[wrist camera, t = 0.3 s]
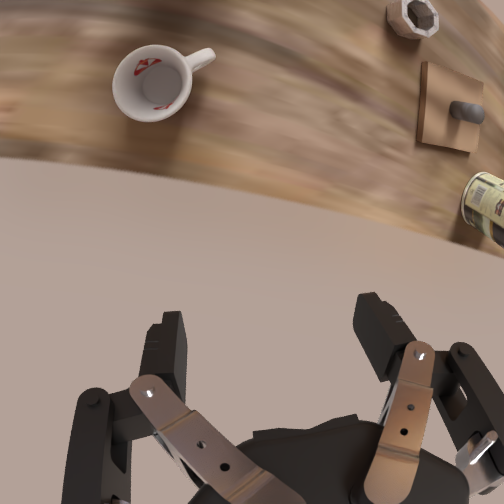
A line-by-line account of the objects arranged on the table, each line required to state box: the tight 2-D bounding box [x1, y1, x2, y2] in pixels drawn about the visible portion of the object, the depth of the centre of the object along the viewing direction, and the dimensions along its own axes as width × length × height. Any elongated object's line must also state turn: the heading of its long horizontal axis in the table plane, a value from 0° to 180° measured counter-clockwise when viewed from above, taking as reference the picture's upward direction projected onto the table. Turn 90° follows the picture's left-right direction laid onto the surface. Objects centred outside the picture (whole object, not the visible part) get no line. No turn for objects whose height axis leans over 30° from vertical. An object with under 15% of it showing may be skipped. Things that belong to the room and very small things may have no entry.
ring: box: [387, 0, 439, 40], centre depth 29 cm, size 6×6×4 cm
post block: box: [416, 62, 484, 153], centre depth 34 cm, size 12×12×6 cm
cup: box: [112, 45, 216, 122], centre depth 29 cm, size 11×8×8 cm
